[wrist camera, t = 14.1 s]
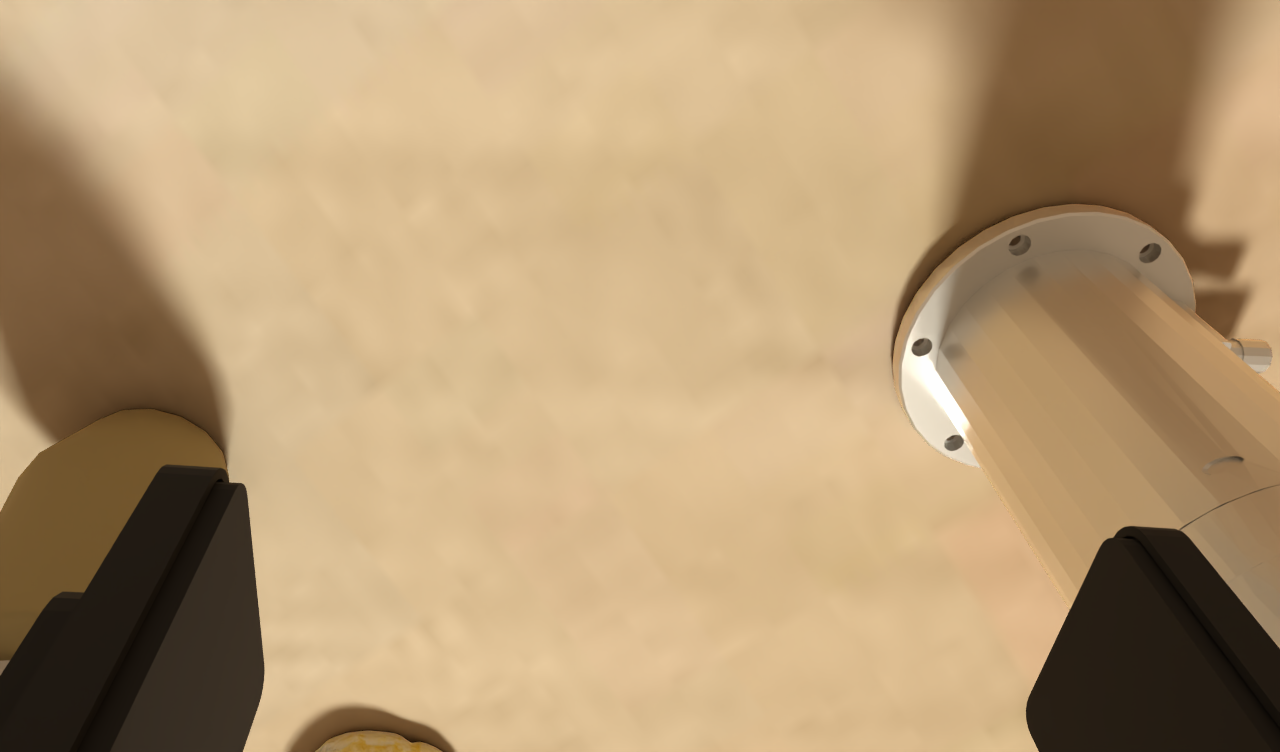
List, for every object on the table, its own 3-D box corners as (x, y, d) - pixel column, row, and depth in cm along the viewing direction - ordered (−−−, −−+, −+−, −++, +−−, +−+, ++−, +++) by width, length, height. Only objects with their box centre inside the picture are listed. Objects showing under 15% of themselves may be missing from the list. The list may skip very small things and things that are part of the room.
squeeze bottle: (91, 350, 39) (-200, 735, 23) (287, 435, 41) (142, 827, 26) (27, 489, 42) (-264, 907, 27) (213, 559, 45) (46, 971, 30)
